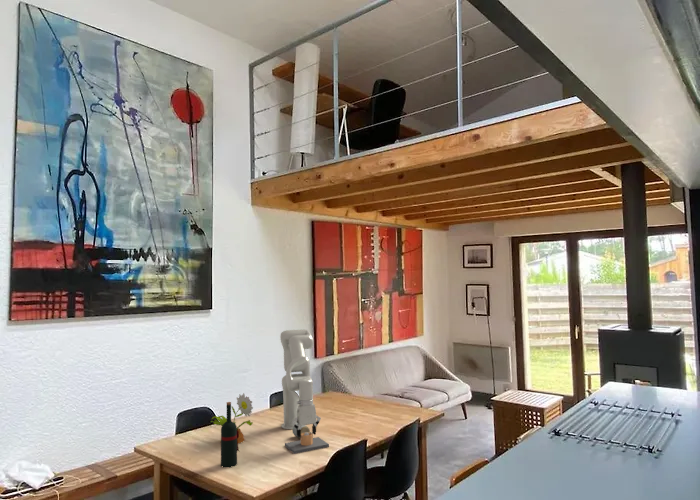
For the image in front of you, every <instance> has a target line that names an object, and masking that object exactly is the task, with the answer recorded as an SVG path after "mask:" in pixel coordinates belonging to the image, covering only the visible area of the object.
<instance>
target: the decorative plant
mask: <svg viewBox="0 0 700 500" xmlns="http://www.w3.org/2000/svg"><path fill="white" fill-rule="evenodd" d="M236 400H237V401H236V405H237V406H238V407H237V408H238V410H237V411H235V408H234V406H232V405H231V411H232V412H233V414H234V418H233V422H234V423H235V424H236V421H235V420H236V418H238V417H241V416H243V415H244V416H245V417H247V416H248V417H250V416H251V414H252V413H253V411H252V410H253V409H254V407H253V404H252V403H253V401H252V400H251V399H250V397H249V396H246V395H245V393H244V392H243V394H241V393H240V394H239V396H238V397H236ZM239 411H240V413H239V414H238V412H239ZM213 420H214V421H213ZM212 422H213V425H216V426H220V427H222V425H223V424H224V423H225V422H227V417H225V416H224V415H218V416H216V415H215V416H212V418H211V421H210V423H212ZM245 424H247V425H249V427H250V426H253V424H254V422H253V421H252V422H251V420H249V419H248V420H246V421H243V422H242V423H240V424H239V425H238V426H237V431H239V438H237V441H238V443H239V444H241V442H242V443H244V442H245V437H244V433H243V432H242V430H241V426H243V425H245ZM243 441H244V442H243Z"/></svg>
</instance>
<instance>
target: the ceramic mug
mask: <svg viewBox="0 0 700 500" xmlns="http://www.w3.org/2000/svg"><path fill="white" fill-rule="evenodd" d="M297 424H298V423H296V425H297ZM300 430H301V434H302V433H306V432H308V433H312V431H311V430H310V428H309V426H307V425H302V426H301V427H300ZM291 431H292V434H293V436H295V437H297V438H300V439H301V437H298V436H297V429H296V428H295V427H294V426H293V429H291Z"/></svg>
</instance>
